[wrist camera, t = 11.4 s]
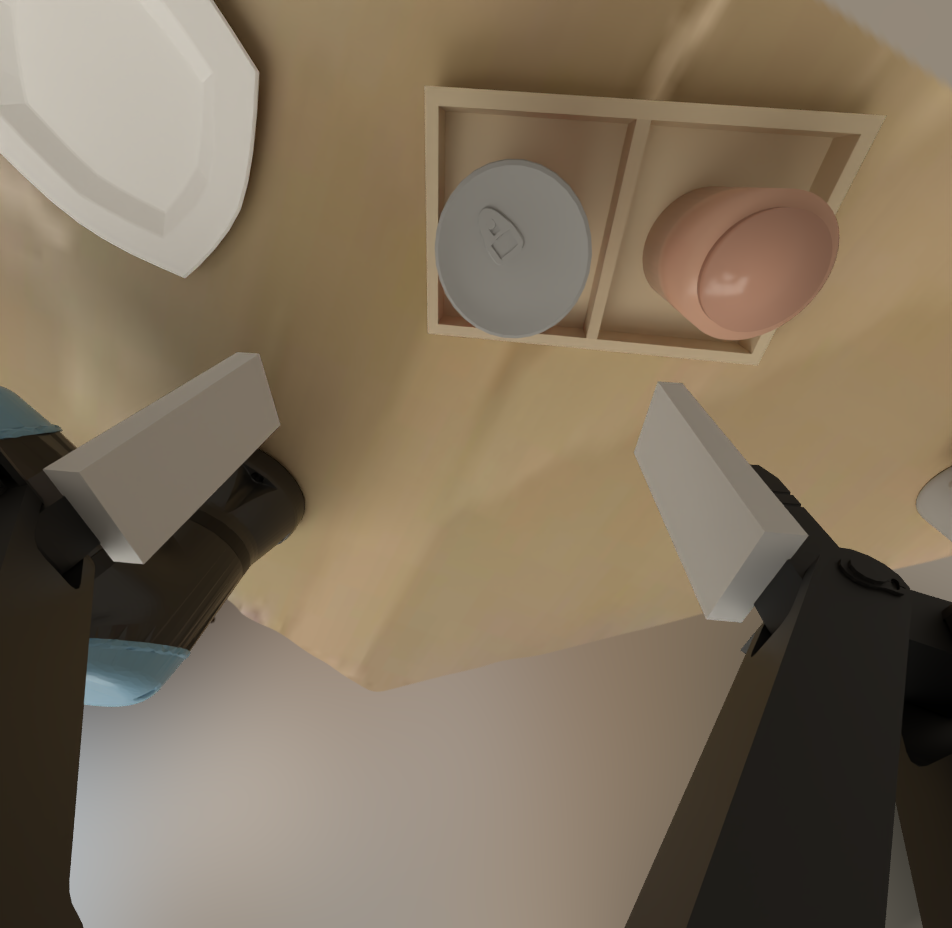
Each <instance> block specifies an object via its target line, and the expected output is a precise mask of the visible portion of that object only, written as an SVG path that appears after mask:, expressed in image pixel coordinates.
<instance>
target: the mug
mask: <svg viewBox="0 0 952 928" xmlns="http://www.w3.org/2000/svg"><path fill="white" fill-rule="evenodd" d="M916 508H917V511H918V512H919V514H920V515H921V516H922V517H923V518H924V519H925V520H926V521H927V522H928V523H929V524H931V525H932V526H933V527H934V528H936V529H937V530H938V531H939V532H941V533H942V534H943V535H944V536H945V537H947V538H948V539H949V540H950V541H951V542H952V466H951V467H949V468H948V469H946V470H944V471H942V472H941V473H939V474H938V475H936V476H935V477H934V478H932V479H931V480H930V481H929V482H928V483H927V484H926V485H925V486H924V487H923V488H922V490H921V491H920V493H919V495H918V497H917V500H916Z"/></svg>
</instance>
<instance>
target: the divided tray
mask: <svg viewBox="0 0 952 928" xmlns="http://www.w3.org/2000/svg"><path fill="white" fill-rule="evenodd" d="M424 91H425V167H426V243H427V320H428V334H437V335H447V336H458V337H468V338H478V339H489V340H499V341H509V342H520V343H530V344H540V345H551V346H561V347H571V348H582V349H592V350H602V351H612V352H623V353H633V354H643V355H654V356H664V357H674V358H685V359H695V360H705V361H716V362H726V363H736V364H747V365H757V366H758V364H759V362H760V360H761V358H762V356H763V354H764V352H765V350H766V348H767V346H768V345H769V343H770V341H771V339H772V337H773V335H774V333H775V331H776V329H777V328H776V329H774V330H772V331H770V332H768V333H765V334H763V335H760V336H757V337H753V338H749V339H743V340H723V339H718V338H715V337H711V336H709V335H707V334H705V333H704V332H702V331H701V330H699V329H698V328H697V327H696V326H695V325H693V324H692V323H691V322H690V321H689V320H688V319H686V318H685V317H684V316H683V315H682V314H681V313H680V312H678V311H677V310H676V309H675V308H674V307H673V306H672V305H670V304H669V303H668V302H667V301H666V300H665V299H663V298H662V297H661V296H660V295H659V294H658V293H657V292H655V291H654V290H653V289H652V288H651V286H650V285H649V283H648V281H647V279H646V277H645V274H644V271H643V262H642V257H643V249H644V245H645V241H646V238H647V236H648V233H649V231H650V229H651V227H652V226H653V224H654V222H655V221H656V219H657V218H658V217H659V215H660V214H661V213H662V212H663V211H664V210H665V208H667V207H668V206H669V205H670V204H671V203H672V202H673V201H675V200H676V199H677V198H679V197H680V196H682V195H684V194H686V193H688V192H690V191H692V190H695V189H698V188H701V187H707V186H729V187H760V188H791V189H800V190H805V191H808V192H811V193H814V194H815V195H817V196H819V197H820V198H822V199H823V200H824V201H825V202H826V203H827V204H828V205H829V206H830V208H831V209H832V210H833V212H834V215H836V213H837V211H838V209H839V207H840V205H841V203H842V201H843V199H844V197H845V195H846V193H847V192H848V190H849V188H850V186H851V184H852V182H853V180H854V178H855V176H856V174H857V172H858V170H859V168H860V166H861V164H862V162H863V161H864V159H865V157H866V155H867V153H868V151H869V149H870V147H871V145H872V143H873V141H874V139H875V137H876V135H877V133H878V132H879V130H880V128H881V126H882V124H883V122H884V120H885V118H886V116H887V115H872V114H857V113H841V112H826V111H810V110H795V109H779V108H764V107H748V106H733V105H717V104H702V103H687V102H671V101H656V100H640V99H625V98H609V97H594V96H578V95H563V94H547V93H532V92H516V91H501V90H485V89H470V88H455V87H439V86H424ZM504 159H525V160H528V161H532V162H535V163H539V164H541V165H543V166H545V167H547V168H548V169H550V170H552V171H554V172H555V173H557V174H558V175H559V176H560V177H561V178H562V179H563V180H564V181H565V182H566V183H568V184H569V185H570V187H571V188H572V190H573V191H574V193H575V194H576V195H577V197H578V198H579V200H580V202H581V204H582V206H583V209H584V211H585V213H586V216H587V219H588V224H589V228H590V232H591V244H592V258H591V265H590V272H589V275H588V278H587V281H586V284H585V288H584V290H583V292H582V293H581V295H580V297H579V299H578V301H577V303H576V304H575V305H574V307H573V308H572V309H571V310H570V312H569V313H568V314H567V315H566V316H565V317H564V318H563V319H562V320H560V321H559V322H558V323H557V324H556V325H554V326H553V327H551V328H549V329H547V330H546V331H544V332H542V333H539V334H536V335H533V336H530V337H523V338H502V337H499V336H495V335H491V334H488V333H486V332H484V331H482V330H480V329H478V328H476V327H475V326H473V325H472V324H471V323H469V322H468V321H467V320H465V319H464V318H463V317H462V316H461V315H460V314H459V312H458V311H457V310H456V309H455V308H454V307H453V305H452V303H451V302H450V300H449V299H448V297H447V296H446V294H445V291H444V289H443V287H442V284H441V282H440V279H439V275H438V271H437V267H436V259H435V239H436V230H437V226H438V223H439V219H440V216H441V213H442V211H443V209H444V207H445V205H446V203H447V201H448V199H449V197H450V195H451V194H452V192H453V191H454V190H455V189H456V187H457V186H458V185H459V183H460V182H461V181H462V180H463V179H465V178H466V177H467V176H468V175H469V174H471V173H472V172H473V171H474V170H476V169H478V168H480V167H482V166H484V165H486V164H488V163H490V162H495V161H499V160H504Z"/></svg>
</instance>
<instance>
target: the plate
mask: <svg viewBox="0 0 952 928" xmlns="http://www.w3.org/2000/svg"><path fill="white" fill-rule="evenodd" d="M259 73H260V72H259V71H258V69H257V68H256V66H255V64H254V63H253V61H252V60H251V58H250V57H249V55H248V53H247V52H246V50H245V49H244V47H243V46H242V44H241V42H240V41H239V39H238V38H237V36H236V34H235V33H234V31H233V30H232V28H231V27H230V25H229V24H228V22H227V21H226V19H225V18H224V16H223V15H222V13H221V12H220V10H219V8H218V7H217V5H216V4H215V2H214V1H213V0H0V153H1V154H2V155H3V156H4V157H5V158H6V159H7V160H8V161H9V162H10V163H11V164H12V165H13V166H14V167H15V168H16V169H17V170H18V171H19V172H20V173H21V174H22V175H23V176H24V177H25V178H26V179H27V180H28V181H30V182H31V183H32V184H33V185H34V186H35V187H36V188H37V189H38V190H39V191H40V192H42V193H43V194H44V195H45V196H46V197H47V198H48V199H49V200H50V201H51V202H53V203H54V204H55V205H56V206H58V207H59V208H60V209H61V210H63V211H64V212H65V213H66V214H68V215H69V216H70V217H71V218H73V219H74V220H75V221H76V222H78V223H79V224H81V225H82V226H84V227H85V228H87V229H88V230H90V231H91V232H93V233H94V234H96V235H97V236H99V237H101V238H102V239H104V240H106V241H108V242H109V243H111V244H113V245H115V246H117V247H119V248H120V249H122V250H124V251H126V252H128V253H129V254H132V255H134V256H136V257H138V258H140V259H142V260H145V261H147V262H149V263H151V264H153V265H155V266H158V267H160V268H162V269H164V270H167V271H169V272H171V273H174V274H176V275H178V276H181V277H183V278H186V277H187V276H188V275H190V274H191V273H192V272H193V271H194V270H195V269H196V268H197V267H198V266H200V264H201V263H202V262H203V261H204V260H205V259H206V258H207V257H208V256H209V255H210V254H211V253H212V252H213V251H214V250H215V249H216V247H217V246H218V245H219V243H220V242H221V241H222V239H223V238H224V237H225V235H226V234H227V233H228V231H229V230H230V228H231V226H232V225H233V223H234V221H235V219H236V217H237V215H238V214H239V212H240V210H241V207H242V204H243V200H244V197H245V193H246V189H247V186H248V182H249V176H250V170H251V164H252V158H253V152H254V142H255V131H256V121H257V110H258V92H259Z"/></svg>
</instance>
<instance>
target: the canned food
mask: <svg viewBox="0 0 952 928" xmlns="http://www.w3.org/2000/svg"><path fill="white" fill-rule="evenodd" d="M591 258H592V244H591V232H590V228H589V224H588V219H587V216H586V213H585V211H584V209H583V206H582V204H581V202H580V200H579V198H578V197H577V195H576V194H575V193H574V191H573V190H572V188H571V187H570V185H569V184H568V183H566V182H565V181H564V180H563V179H562V178H561V177H560V176H559V175H558V174H557V173H555V172H554V171H552V170H550V169H548V168H547V167H545V166H543V165H541V164H539V163H535V162H532V161H528V160H525V159H504V160H499V161H495V162H490V163H488V164H486V165H484V166H482V167H480V168H478V169H476V170H474V171H473V172H472V173H471V174H469V175H468V176H467V177H466V178H465V179H463V180H462V181H461V182H460V183H459V185H458V186H457V187H456V189H455V190H454V191H453V192H452V194H451V195H450V197H449V199H448V201H447V203H446V205H445V207H444V209H443V211H442V213H441V216H440V219H439V223H438V226H437V230H436V239H435V259H436V267H437V271H438V275H439V279H440V282H441V284H442V287H443V289H444V291H445V294H446V296H447V297H448V299H449V300H450V302H451V303H452V305H453V307H454V308H455V309H456V310H457V311H458V312H459V314H460V315H461V316H462V317H463V318H464V319H465V320H467V321H468V322H469V323H471V324H472V325H473V326H475V327H476V328H478V329H480V330H482V331H484V332H486V333H488V334H491V335H495V336H499V337H502V338H523V337H530V336H533V335H536V334H539V333H542V332H544V331H546V330H547V329H549V328H551V327H553V326H554V325H556V324H557V323H558V322H559V321H560V320H562V319H563V318H564V317H565V316H566V315H567V314H568V313H569V312H570V310H571V309H572V308H573V307H574V305H575V304H576V303H577V301H578V299H579V297H580V295H581V293H582V292H583V290H584V288H585V284H586V281H587V278H588V275H589V272H590V265H591Z"/></svg>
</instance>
